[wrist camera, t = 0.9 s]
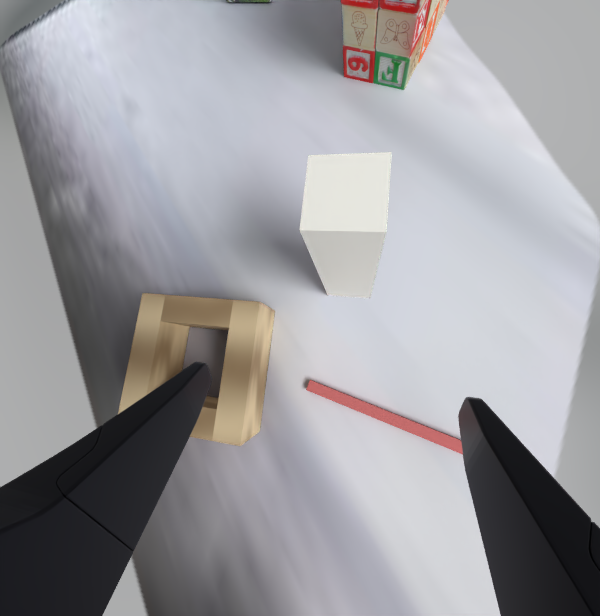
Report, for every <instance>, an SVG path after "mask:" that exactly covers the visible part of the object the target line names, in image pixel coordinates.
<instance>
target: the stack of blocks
mask: <svg viewBox="0 0 600 616" xmlns="http://www.w3.org/2000/svg"><path fill="white" fill-rule="evenodd" d="M447 2H448V0H341V9H342V28H343V61H344V77H347V78H351V79H356V80H360V81H365V82H369V83H376V84H380V85H384V86H389V87H393V88H398V89H401V90H404V89H405V88H406V86H407V84H408V82H409V80H410V78H411V76H412V74H413V72H414V70H415V68H416V66H417V64H418V63H419V62H420V60H421V58H422V56H423V54H424V52H425V50H426V48H427V46H428V44H429V42H430V40H431V37H432V35H433V34H434V32H435V30H436V28H437V26H438V24H439V22H440V20H441V18H442V16H443V14H444V11H445V8H446V5H447Z"/></svg>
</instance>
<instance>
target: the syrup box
mask: <svg viewBox="0 0 600 616" xmlns="http://www.w3.org/2000/svg"><path fill="white" fill-rule="evenodd" d="M226 1H227V2H271V0H226Z"/></svg>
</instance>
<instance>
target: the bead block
mask: <svg viewBox="0 0 600 616" xmlns="http://www.w3.org/2000/svg"><path fill="white" fill-rule="evenodd" d="M274 314H275V311H274V310H273V309H271V308H269V307H268V306H266V305H264V304H263V303H261V302H255V301H242V300H229V299H215V298H202V297H189V296H176V295H163V294H149V293H143V294H142V298H141V303H140V308H139V313H138V318H137V323H136V328H135V333H134V338H133V343H132V348H131V353H130V357H129V362H128V367H127V372H126V377H125V382H124V387H123V392H122V397H121V402H120V407H119V412H118V414H119V413H121V412H122V411H124V410H125V409H126V408H128V407H129V406H131V405H132V404H134V403H135V402H137V401H138V400H140V399H141V398H143V397H144V396H146V395H147V394H149V393H150V392H152V391H153V390H155V389H156V388H158V387H159V386H160V385H162V384H163V383H165V382H166V381H168V380H169V379H171V378H172V377H174V376H175V375H177V374H178V373H180V372H181V371H182V368H183V362H184V357H185V351H186V345H187V339H188V333H189V328H190V327H198V328H208V329H218V330H228V331H229V332H228V338H227V345H226V352H225V358H224V365H223V371H222V378H221V385H220V391H219V398H216V397H209V396H206V399H205V402H204V404H203V407H202V410H201V412H200V415H199V418H198V420H197V422H196V424H195V427H194V429H193V431H192V433H191V435H190V437H195V438H200V439H205V440H210V441H216V442H221V443H226V444H231V445H237V446H241V445H243V444H244V443H245V442H247V441H248V440H249V439H250V438H252V437H253V436H254V435H256V434H257V433H258V432H260V425H261V417H262V409H263V402H264V394H265V386H266V378H267V370H268V362H269V354H270V346H271V338H272V330H273V322H274Z"/></svg>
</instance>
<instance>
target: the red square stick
mask: <svg viewBox="0 0 600 616" xmlns="http://www.w3.org/2000/svg"><path fill="white" fill-rule="evenodd" d="M306 390H308V391H310V392H313V393H315V394H317V395H320V396H322V397H325V398H327V399H330V400H332V401H334V402H337V403H339V404H342V405H344V406H347V407H349V408H351V409H354V410H356V411H359V412H361V413H364V414H366V415H368V416H371V417H373V418H376V419H378V420H381V421H383V422H385V423H388V424H390V425H393V426H395V427H398V428H400V429H402V430H405V431H407V432H410V433H412V434H415V435H417V436H419V437H422V438H424V439H427V440H429V441H432V442H434V443H436V444H439V445H441V446H444V447H446V448H449V449H451V450H453V451H456V452H458V453H461V454H463V450H462V443H461V440H459V439H457V438H454V437H452V436H449V435H447V434H444V433H442V432H439V431H437V430H434V429H432V428H429V427H427V426H424V425H422V424H419V423H417V422H414V421H412V420H409V419H407V418H404V417H402V416H399V415H397V414H394V413H392V412H389V411H387V410H384V409H382V408H379V407H377V406H374V405H372V404H369V403H367V402H364V401H362V400H359V399H357V398H354V397H352V396H349V395H347V394H344V393H342V392H339V391H337V390H334V389H332V388H329V387H327V386H324V385H322V384H319V383H317V382H314V381H312V380H310V381H309V384H308V387H307V389H306Z"/></svg>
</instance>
